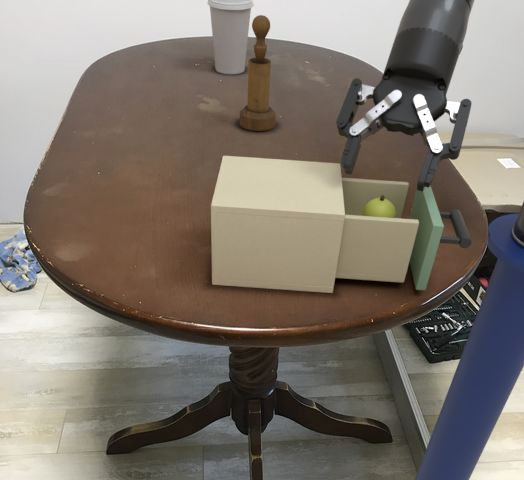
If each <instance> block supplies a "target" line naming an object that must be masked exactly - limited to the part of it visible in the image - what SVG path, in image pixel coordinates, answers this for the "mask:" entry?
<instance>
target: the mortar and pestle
mask: <svg viewBox="0 0 524 480" xmlns="http://www.w3.org/2000/svg"><path fill="white" fill-rule="evenodd" d="M251 28H252V32H253V34H254V36H255V39H256V41H255V44H253V51H254V52H253V53H254V56H255V57H252V58H249V59H248V69H247V71H248V73H247V104H246V105H245V106H243V108H241V109H240V111H239V126H240V127H241V128H243V129H245V130H247V131H252V132H262V131H270V130H272V129H274V128H275V127H276V115H277V114H276V111H275V110H274V109H273V107H271V106H270V87H271V85H270V84H271V69H272V60H271V59H269V58H267V57H266V55H267V51H268V45H267V44H266V37H267V36H268V34H269V32H270V30H271V22H270V19H269V18H268V17H267V16H266V15H262V14H261V15H256V16H255V17H254V18H253V20H252V23H251Z"/></svg>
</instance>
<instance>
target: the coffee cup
mask: <svg viewBox="0 0 524 480" xmlns="http://www.w3.org/2000/svg"><path fill="white" fill-rule="evenodd" d="M207 6H209V12H210V22H211V33H212V44H213V45H212V46H213V56H214V69H215V72H217V73H220V74H223V75H239V74H242V73H244V72H245V69H246V61H247V49H248V42H249V41H248V39H249V31H250V30H249V29H250V21H251V12H252V10H251V9H252V8H253V7H254V1H253V0H207Z"/></svg>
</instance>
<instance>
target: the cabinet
mask: <svg viewBox="0 0 524 480" xmlns="http://www.w3.org/2000/svg"><path fill="white" fill-rule="evenodd" d="M341 166H342V165H341V163H340V162H339V163H338V162H337V163H336V162H323V161H322V162H321V161H311V160H310V161H309V160H293V159H281V158H280V159H279V158H264V157H252V156H251V157H250V156H235V155H234V156H233V155H222V160H221V163H220V167H219V171H218V175H217V179H216V183H215V186H214V187H215V188H214V191H213V192H214V193H213V196H212V200H211V202H210V203H211V204H210V237H211V238H210V239H211V243H210V244H211V285H213V286H226V287H227V286H228V287H238V288H239V287H242V288H253V289H254V288H255V289H267V290H268V289H269V290H282V291H283V290H284V291H285V290H286V291H296V292H297V291H298V292H309V293H310V292H312V293H324V294H325V293H327V294H334V287H335V281H336V278H335V276H336V269H337V263H338V257H339V250H340V244H341V238H342V231H343V225H344V218H345V209H344V198H343V188H342V178H343V177H342V167H341Z"/></svg>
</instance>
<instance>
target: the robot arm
mask: <svg viewBox="0 0 524 480" xmlns="http://www.w3.org/2000/svg"><path fill="white" fill-rule="evenodd" d="M474 3H475V0H409V1H408V4H407V6H406V8H405V10H404V12H403V14H402V16H401V19H400V21H399V25H398V28H397V31H396V34H395V38H394V40H393V43H392V46H391V49H390V52H389V56H388V59H387V62H386V65H385V67H384V70H383V74H382V77H381V79H380V81H379V82H378V83H377V85H375V86H372V85H368V84H363V81H362V79H360V78H358V77H357V78H354V79H353V80H352V81H351V83H350V85H349V88H348V89H347V93H346V94H345V95H346V96H345V98H344V101H343V103H342V106H341V108H340V111H339V113H338V116H337V117H336V120H335V124H336V128H337V132H338V135H339V136H340V137H345V138H346V142H345V146H344V149H343V152H342V155H341V157H340V164H341V166H342V167H341V168H343V170H344V173H345V174H347V175H352V174H353V172H354V169H355V166H356V163H357V160H358V157H359V154H360V150H361V148H362V144H361V143H362V142H363V141H365V140H366V139H367V138H368V137H370V136H371V135H375V134H376V133H378V132H380V130H382V129H383V128H384V129H386V131H387V132H392V133H400V132H401V133H402V134H404V135H406V136H412V137H414V136H415V135H417V134H420V137H421V140H422V142H423V145H424V146H425V148H426V150H427V152H426V156H425V158H424V162H423V165H422V167H421V171H420V175H419V178H418V180H417V184H416V188H417V190H419V191H424V188H425V187H430V186H431V187H432V184H433V183H434V179H435V176H436V173H437V170H438V167H439V164H440V163H441V162H442V161H443V160H453V161H454V160H457V159H459V157H460V153H461V149H462V146H463V145H462V144H463V141H464V138H465V134H466V130H467V126H468V122H469V118H470V114H471V110H472V109H471V108H472V100H471V99H470V98H464V99H462V100H461V101H451V100H448V98H447V94H448V92H449V91H448V90H449V88H450V84H451V81H452V78H453V75H454V73H455V69H456V65H457V63H458V61H459V60H458V59H459V56H460V55H461V53H462V50H463V48H464V42H465V38H466V34H467V32H468V31H467V30H468V25H469V19H470V16H471V13H472V9H473V7H474ZM370 99H372V101H373V104H374V106H373V107H372V108H371V109H369V110H368V111H367V112H366V113H364V116H363V117H362V118H360V119H359V120H358V121H357V122H356V123H354V124H353V122H354V120H355V116H356V115H357V112H358V109H359V106H364V105H365V104H366V102H367V101H368V100H370ZM445 113H446V114H447V115H448V116H449V122H450V123H451V124H454V125H453V129H452V134H451V138H450V141H449V142H444V143H442V141H441V138H440V136H439V133H438V131H437V126H436V124H435V122H436V121H438V120H439V119H440V118H441V117H442V116H444V114H445ZM518 214H519V215H518V217H517V219H516V222H515V225H514V226H513V229H512V231H511V237H512V239H513V241H514V242H515V243H516V244H517V245H518V246H520V247H521V248H523V249H524V201H523V202H522V204H521V207H520V209H519V212H518Z"/></svg>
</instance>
